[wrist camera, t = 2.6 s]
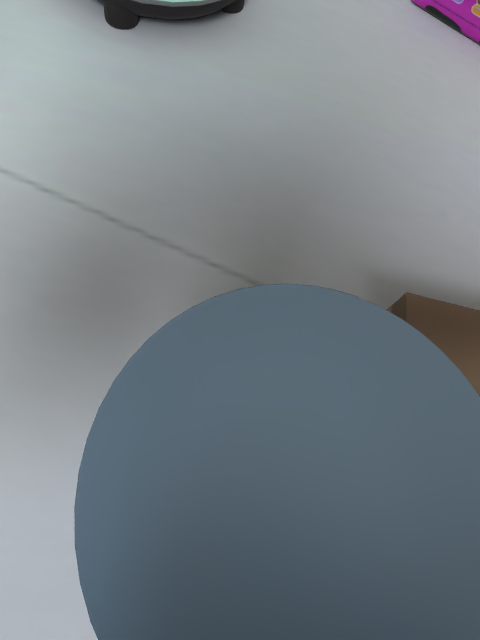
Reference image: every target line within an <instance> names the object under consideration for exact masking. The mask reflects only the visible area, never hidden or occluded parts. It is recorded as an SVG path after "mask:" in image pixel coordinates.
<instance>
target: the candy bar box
mask: <svg viewBox="0 0 480 640" xmlns="http://www.w3.org/2000/svg"><path fill="white" fill-rule="evenodd" d="M411 1H412V2H413V3H414V4H416V5H417V6H419V7H421V8H422V9H424V10H425V11H427V12H429V13H430V14H432V15H433V16H435V17H436V18H438V19H440V20H441V21H443V22H445V23H446V24H448V25H449V26H451V27H452V28H454V29H456V30H457V31H459V32H461V33H462V34H464V35H465V36H467V37H469V38H470V39H472V40H473V41H475V42H477V43H478V44H480V0H411Z"/></svg>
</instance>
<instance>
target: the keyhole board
mask: <svg viewBox="0 0 480 640" xmlns="http://www.w3.org/2000/svg"><path fill="white" fill-rule="evenodd" d="M387 311H388V312H390V313H392V314H394V315H396V316H397V317H399V318H401V319H402V320H404V321H405V322H407V323H408V324H409V325H411V326H412V327H414V328H415V329H416V330H418V331H419V332H421V333H422V334H423V335H424V336H425V337H427V338H428V339H429V340H430V341H431V342H432V343H434V344H435V345H436V346H437V347H438V348H439V349H440V350H441V351H442V352H443V353H444V354H445V355H446V356H447V357H448V358H449V359H450V360H451V361H452V362H453V363H454V364H455V365H456V366H457V367H458V369H459V370H460V371H461V372H462V374H463V375H464V376H465V377H466V379H467V380H468V381H469V383H470V384H471V385H472V386H473V388H474V389H475V390H476V392H477V393H478V395H479V397H480V311H478V310H474V309H470V308H466V307H462V306H458V305H454V304H450V303H446V302H442V301H438V300H434V299H430V298H426V297H422V296H418V295H414V294H410V293H405V294H404V295H403V296H402V297H401V298H400V299H399V300H398V301H397V302H395V303H394V304H393V305H392V306H391V307H390V308H389V309H388V310H387Z"/></svg>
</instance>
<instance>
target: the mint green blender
mask: <svg viewBox="0 0 480 640" xmlns="http://www.w3.org/2000/svg"><path fill="white" fill-rule="evenodd" d="M99 1H101V2H103V3H104V13H105V19H106V21H107V22H108V23H109V24H110V25H111V26H113V27H115V28H118V29H131V28H133V27H135V26H136V25H137V22H138V15H140V16H145V17H153V18H162V19H185V18H196V17H200V16H204V15H208V14H211V13H215V12H217V11H218V10H220V9H221V10H223V11H224V12H228V13H237V12H240V11H241V10H242V9H243V5H244V0H99Z"/></svg>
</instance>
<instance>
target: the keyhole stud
mask: <svg viewBox="0 0 480 640" xmlns="http://www.w3.org/2000/svg"><path fill="white" fill-rule="evenodd" d="M75 549H76V557H77V564H78V571H79V579H80V585H81V588H82V592H83V596H84V599H85V603H86V607H87V610H88V614H89V618H90V621H91V624H92V626H93V629H94V631H95V633H96V636H97V638H98V640H480V397H479V395H478V393H477V392H476V390H475V389H474V388H473V386H472V385H471V384H470V383H469V381H468V380H467V379H466V377H465V376H464V375H463V374H462V372H461V371H460V370H459V369H458V367H457V366H456V365H455V364H454V363H453V362H452V361H451V360H450V359H449V358H448V357H447V356H446V355H445V354H444V353H443V352H442V351H441V350H440V349H439V348H438V347H437V346H436V345H435V344H434V343H432V342H431V341H430V340H429V339H428V338H427V337H425V336H424V335H423V334H422V333H421V332H419V331H418V330H416V329H415V328H414V327H412V326H411V325H409V324H408V323H407V322H405V321H404V320H402V319H401V318H399V317H397V316H396V315H394V314H392V313H390V312H388V311H387V310H385V309H383V308H381V307H380V306H377V305H375V304H373V303H370V302H368V301H366V300H363V299H361V298H359V297H356V296H353V295H350V294H346V293H343V292H340V291H337V290H333V289H328V288H322V287H317V286H312V285H299V284H271V285H259V286H254V287H248V288H242V289H238V290H234V291H231V292H228V293H225V294H222V295H218V296H215V297H213V298H211V299H209V300H206V301H204V302H202V303H200V304H198V305H195V306H193V307H192V308H190V309H188V310H187V311H185V312H183V313H182V314H180V315H179V316H177V317H175V318H174V319H172V320H171V321H169V322H168V323H167V324H166V325H165V326H163V327H162V328H161V329H160V330H158V331H157V332H156V333H155V334H154V335H152V336H151V337H150V338H149V339H148V340H147V341H146V342H145V343H144V344H143V345H142V346H141V347H140V349H139V350H138V351H137V352H136V353H135V354H134V355H133V356H132V357H131V358H130V360H129V361H128V362H127V364H126V365H125V366H124V368H123V369H122V371H121V372H120V373H119V375H118V376H117V377H116V379H115V380H114V382H113V384H112V385H111V387H110V389H109V391H108V393H107V395H106V396H105V398H104V400H103V402H102V404H101V406H100V407H99V409H98V412H97V415H96V417H95V420H94V422H93V425H92V427H91V430H90V433H89V435H88V438H87V441H86V445H85V449H84V453H83V457H82V461H81V465H80V469H79V474H78V483H77V491H76V500H75Z"/></svg>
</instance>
